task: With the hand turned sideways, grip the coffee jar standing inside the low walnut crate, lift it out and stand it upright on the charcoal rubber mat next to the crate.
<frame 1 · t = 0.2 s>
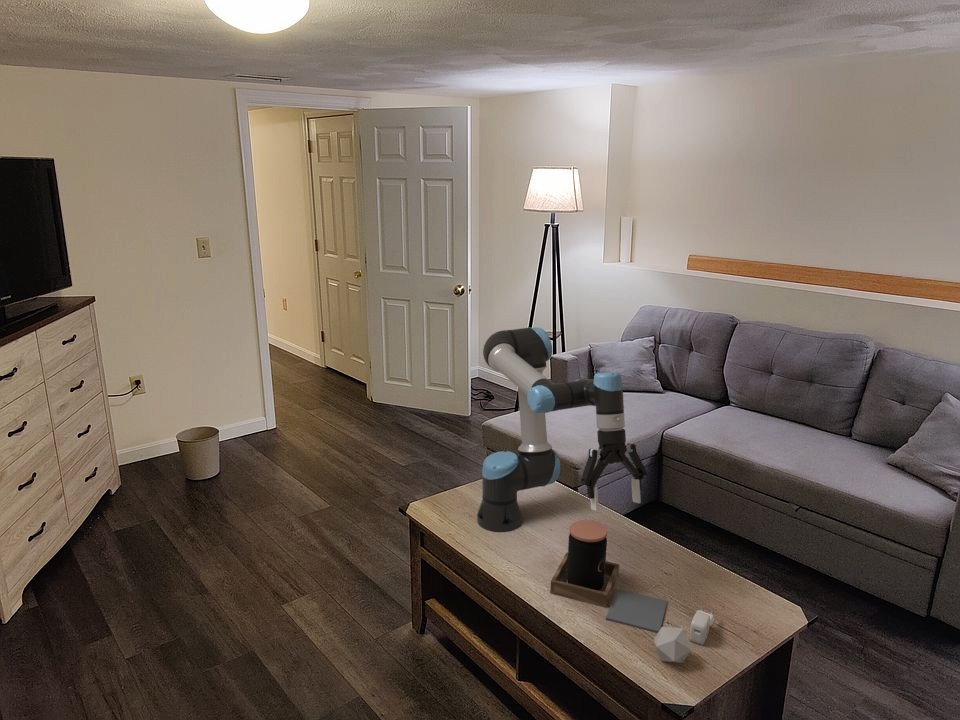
hand: (616, 506, 186), 27 cm above the table, tool tilted 15°, fingers open, 13 cm apart
power adapter: (701, 632, 177), on the table
rubber mat: (637, 610, 185), on the table
die: (670, 658, 167), on the table
walnut crate: (585, 584, 196), on the table
coffee jar: (585, 585, 196), resting in walnut crate
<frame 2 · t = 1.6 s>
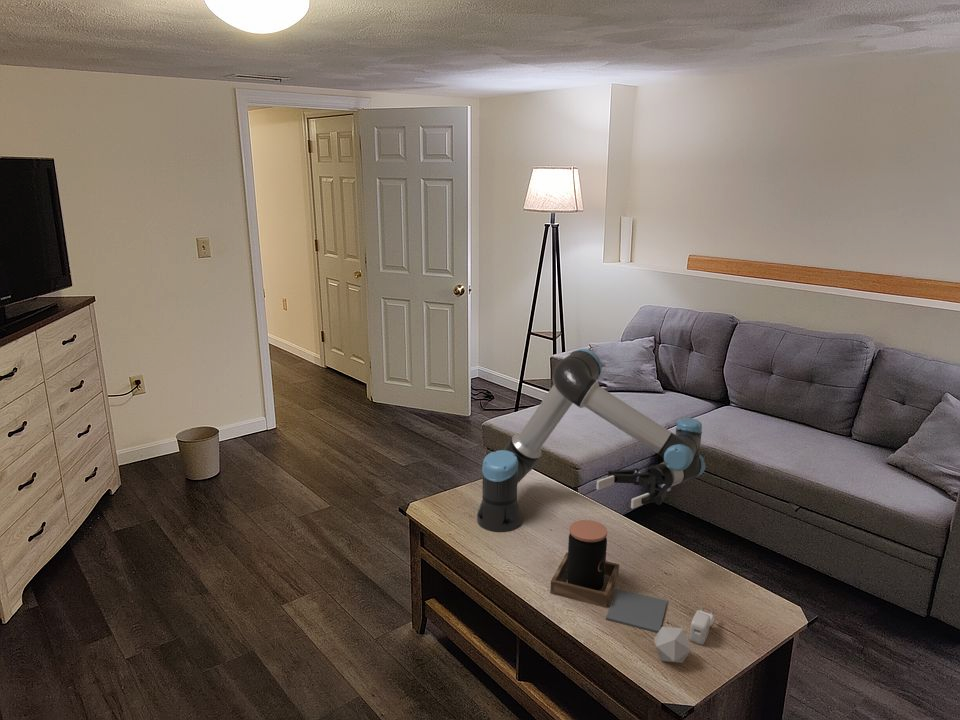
hand: (614, 494, 194), 26 cm above the table, tool horizontal, fingers open, 13 cm apart
nothing on the table moved.
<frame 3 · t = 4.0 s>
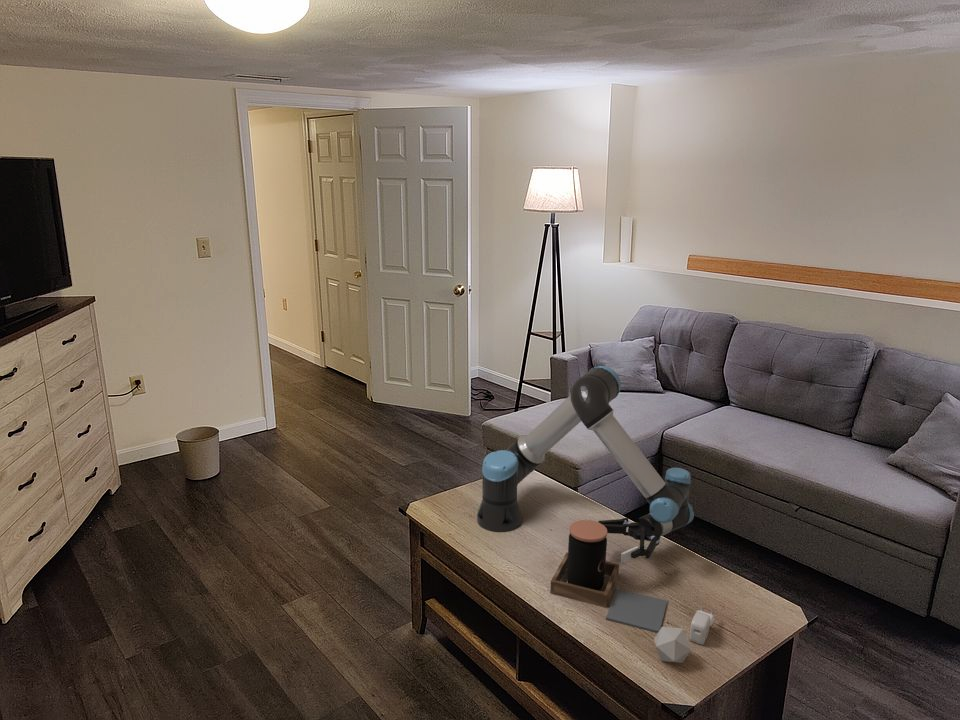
hand: (604, 547, 196), 10 cm above the table, tool horizontal, fingers open, 13 cm apart
nothing on the table moved.
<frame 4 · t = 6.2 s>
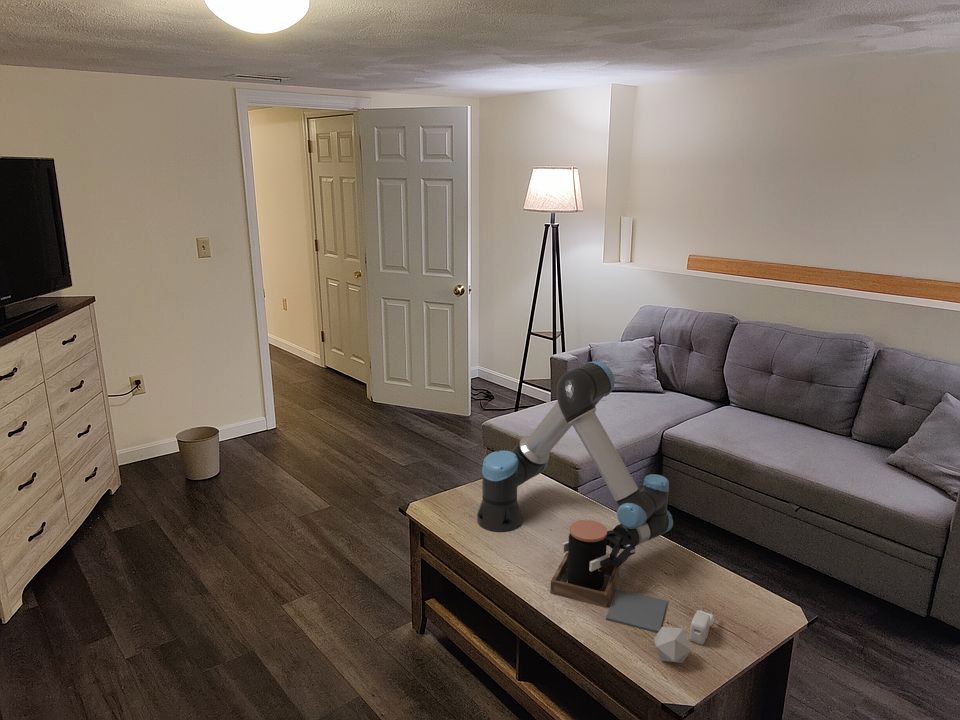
hand: (576, 557, 191), 11 cm above the table, tool horizontal, fingers closed on coffee jar, 11 cm apart
coffee jar: (585, 585, 196), resting in walnut crate, touching gripper
everything else where it was.
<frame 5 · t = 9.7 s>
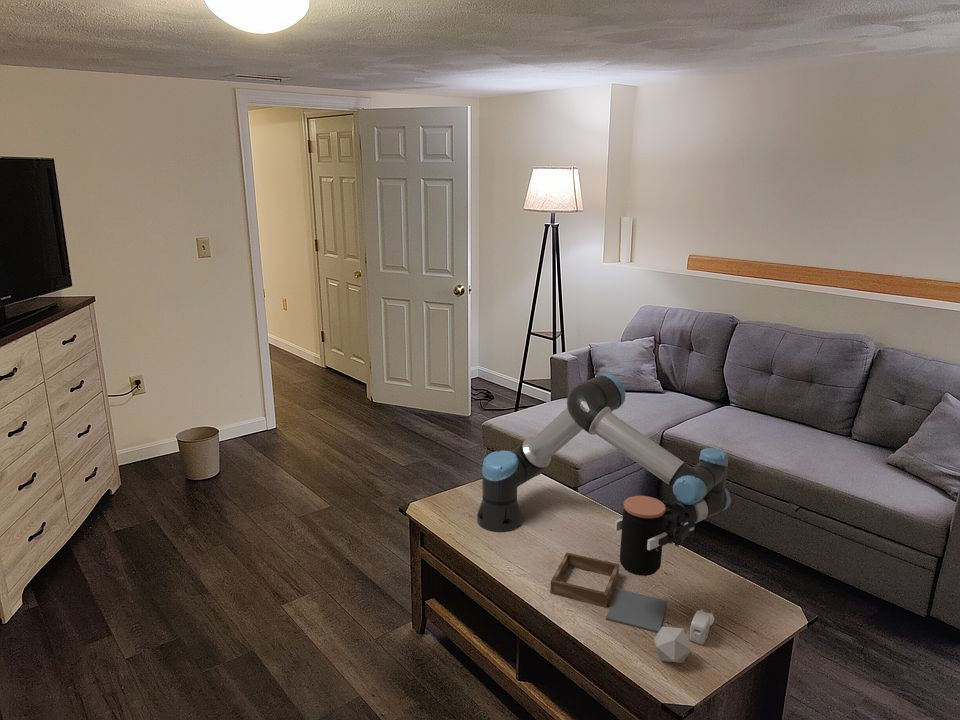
hand: (631, 535, 176), 24 cm above the table, tool horizontal, fingers closed on coffee jar, 11 cm apart
coffee jar: (639, 566, 181), point 14 cm above the table, touching gripper
everything else where it was.
when the fingers open (12 cm above the table, at t = 13.1 s): coffee jar drops 1 cm, resting on rubber mat.
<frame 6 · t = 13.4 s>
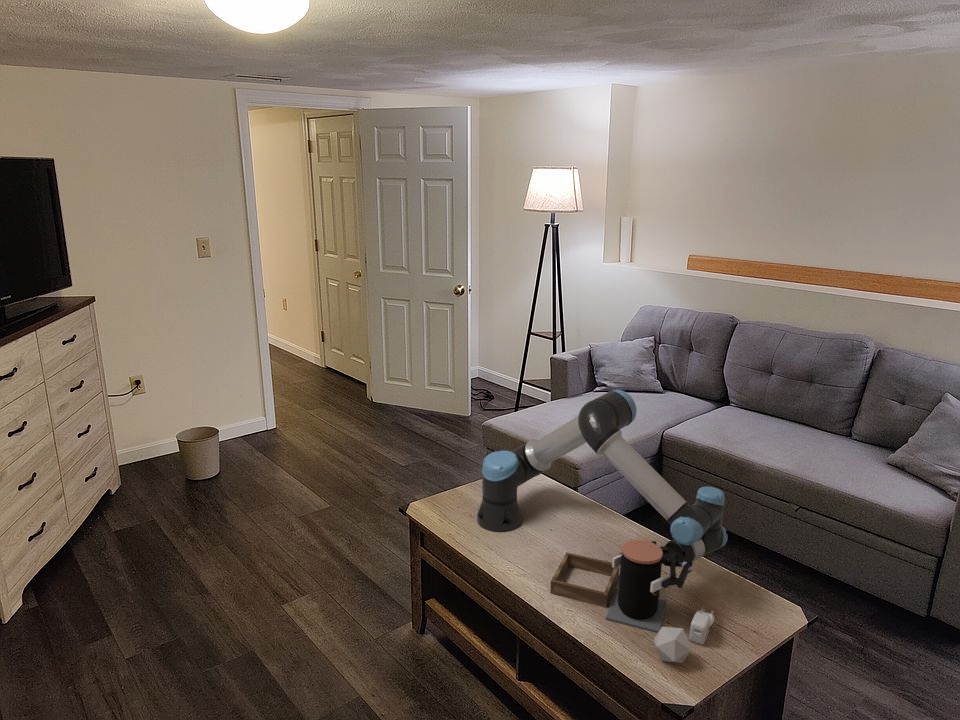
hand: (631, 575, 179), 12 cm above the table, tool horizontal, fingers open, 13 cm apart
coffee jar: (637, 609, 185), resting on rubber mat
everything else where it was.
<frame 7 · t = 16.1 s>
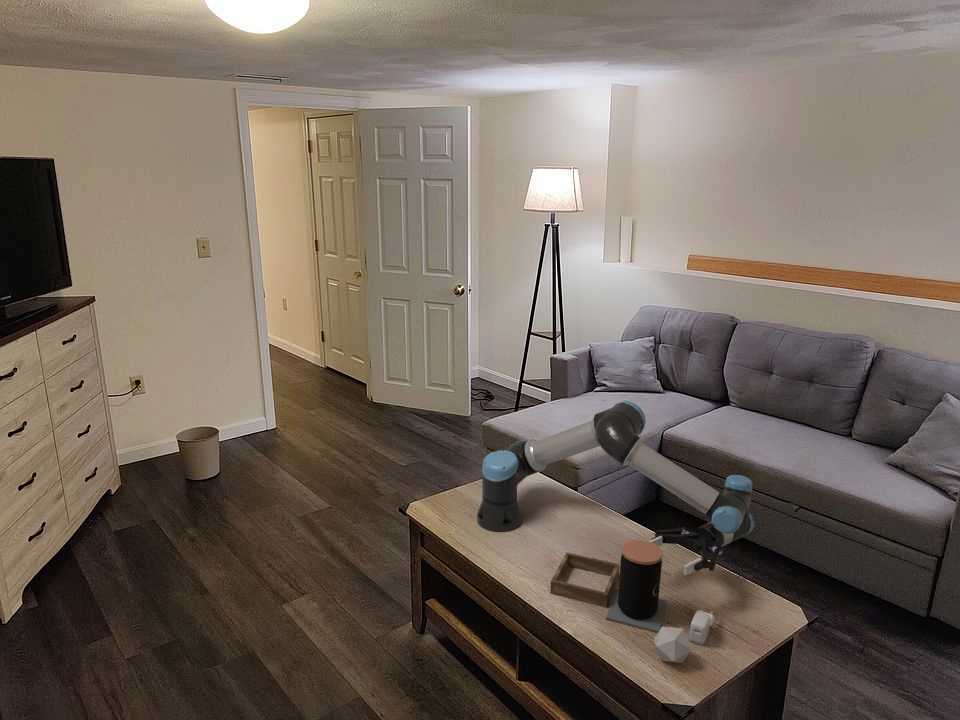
hand: (664, 558, 186), 13 cm above the table, tool horizontal, fingers open, 13 cm apart
nothing on the table moved.
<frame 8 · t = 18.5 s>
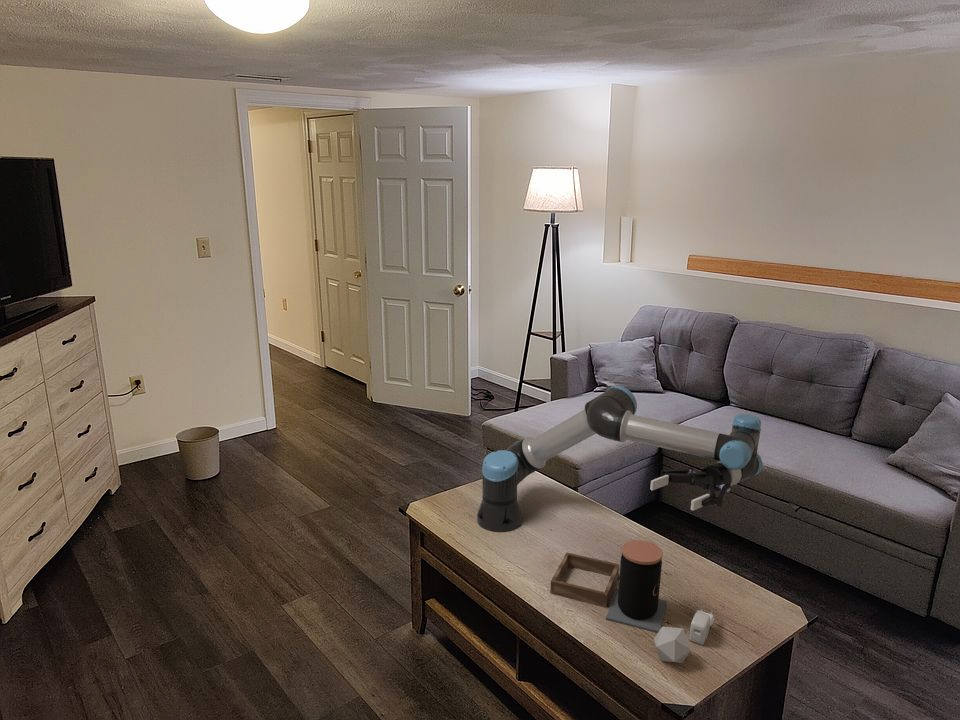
hand: (671, 495, 181), 32 cm above the table, tool horizontal, fingers open, 13 cm apart
nothing on the table moved.
at the end: coffee jar inside the target area on the rubber mat (0.1 cm from its centre), point 0.4 cm above the rubber mat's base; coffee jar tilted 0°; the gripper is holding nothing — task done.
